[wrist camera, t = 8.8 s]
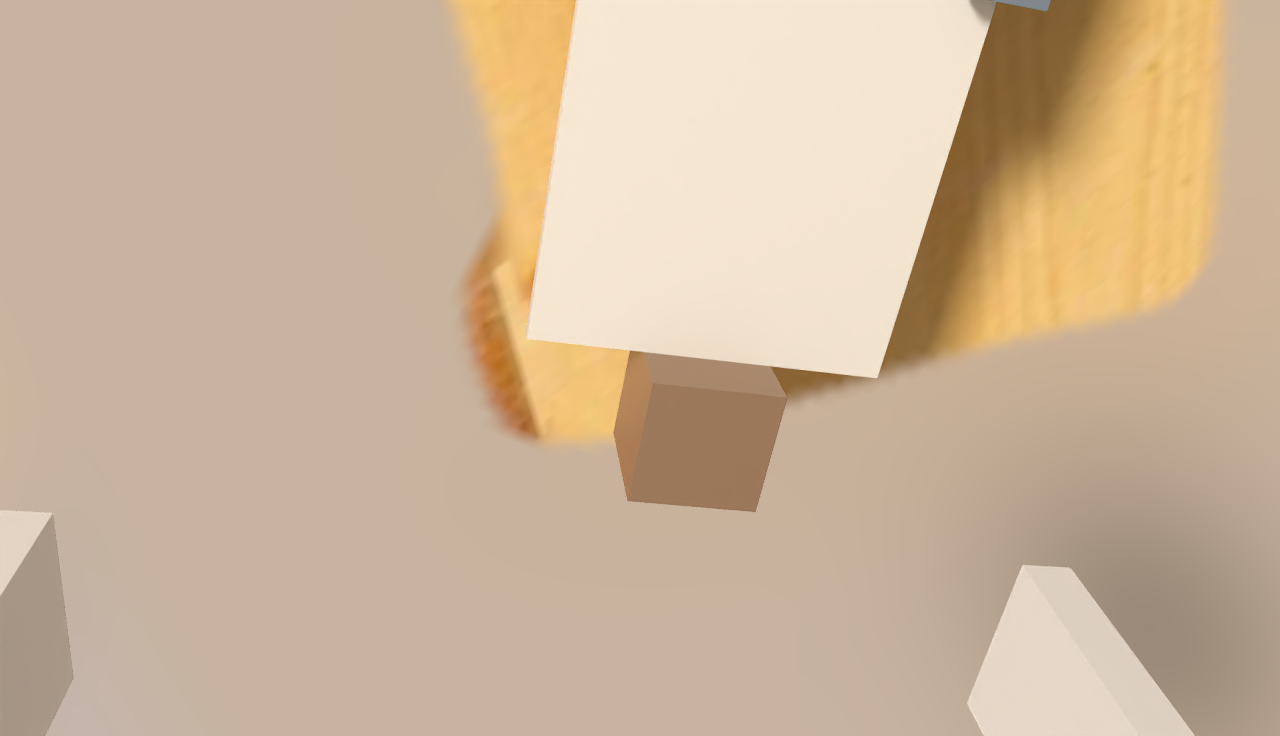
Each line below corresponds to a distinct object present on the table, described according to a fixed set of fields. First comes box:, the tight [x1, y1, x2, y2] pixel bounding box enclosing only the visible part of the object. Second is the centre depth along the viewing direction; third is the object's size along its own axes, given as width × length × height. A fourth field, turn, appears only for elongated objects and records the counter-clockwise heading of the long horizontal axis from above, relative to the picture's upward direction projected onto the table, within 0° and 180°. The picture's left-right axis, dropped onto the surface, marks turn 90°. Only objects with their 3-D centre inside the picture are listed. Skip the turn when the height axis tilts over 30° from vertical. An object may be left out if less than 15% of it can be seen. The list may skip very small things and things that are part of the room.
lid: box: [526, 0, 997, 512], centre depth 29 cm, size 20×11×4 cm, turn 169°
